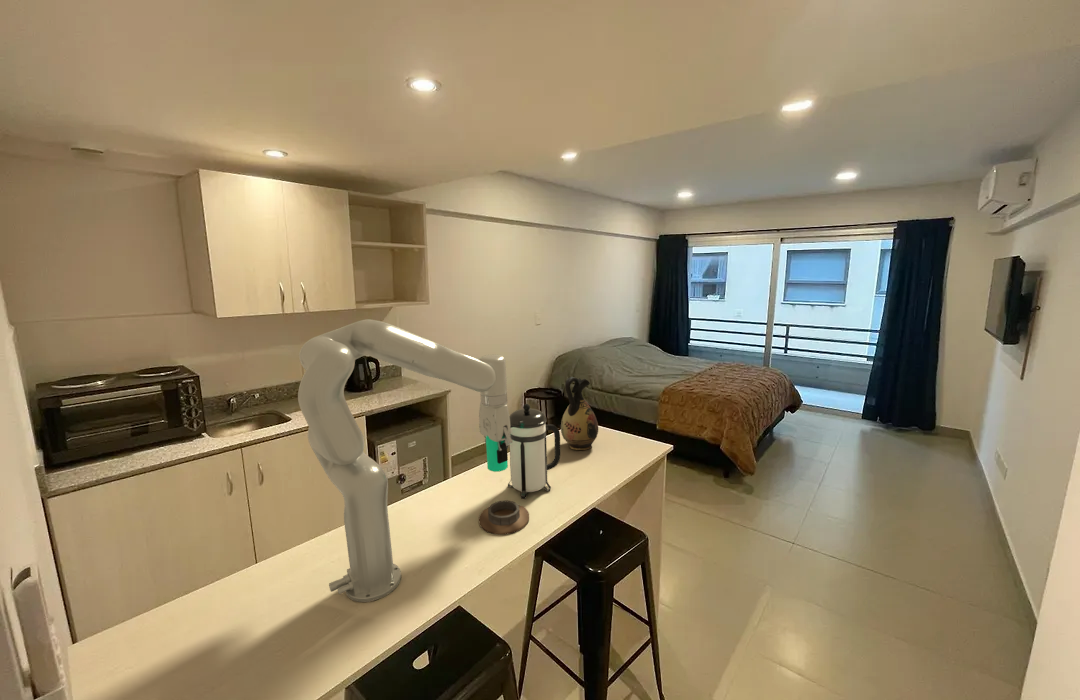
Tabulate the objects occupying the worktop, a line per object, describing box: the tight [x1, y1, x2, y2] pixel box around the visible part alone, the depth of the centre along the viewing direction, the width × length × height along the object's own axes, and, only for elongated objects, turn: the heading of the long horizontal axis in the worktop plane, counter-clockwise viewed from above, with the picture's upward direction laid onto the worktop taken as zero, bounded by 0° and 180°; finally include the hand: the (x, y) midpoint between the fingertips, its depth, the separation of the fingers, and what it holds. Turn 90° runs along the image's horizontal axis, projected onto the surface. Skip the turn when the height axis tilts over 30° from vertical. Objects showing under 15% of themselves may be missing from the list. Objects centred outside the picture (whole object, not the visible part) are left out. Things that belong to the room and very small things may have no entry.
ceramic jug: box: [560, 376, 599, 451], centre depth 178 cm, size 17×15×30 cm
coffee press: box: [507, 403, 561, 500], centre depth 146 cm, size 17×16×30 cm
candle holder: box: [478, 499, 530, 536], centre depth 130 cm, size 15×15×4 cm
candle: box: [485, 435, 509, 473], centre depth 126 cm, size 6×6×12 cm
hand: (497, 458), depth 126 cm, fingers closed on candle, 4 cm apart
